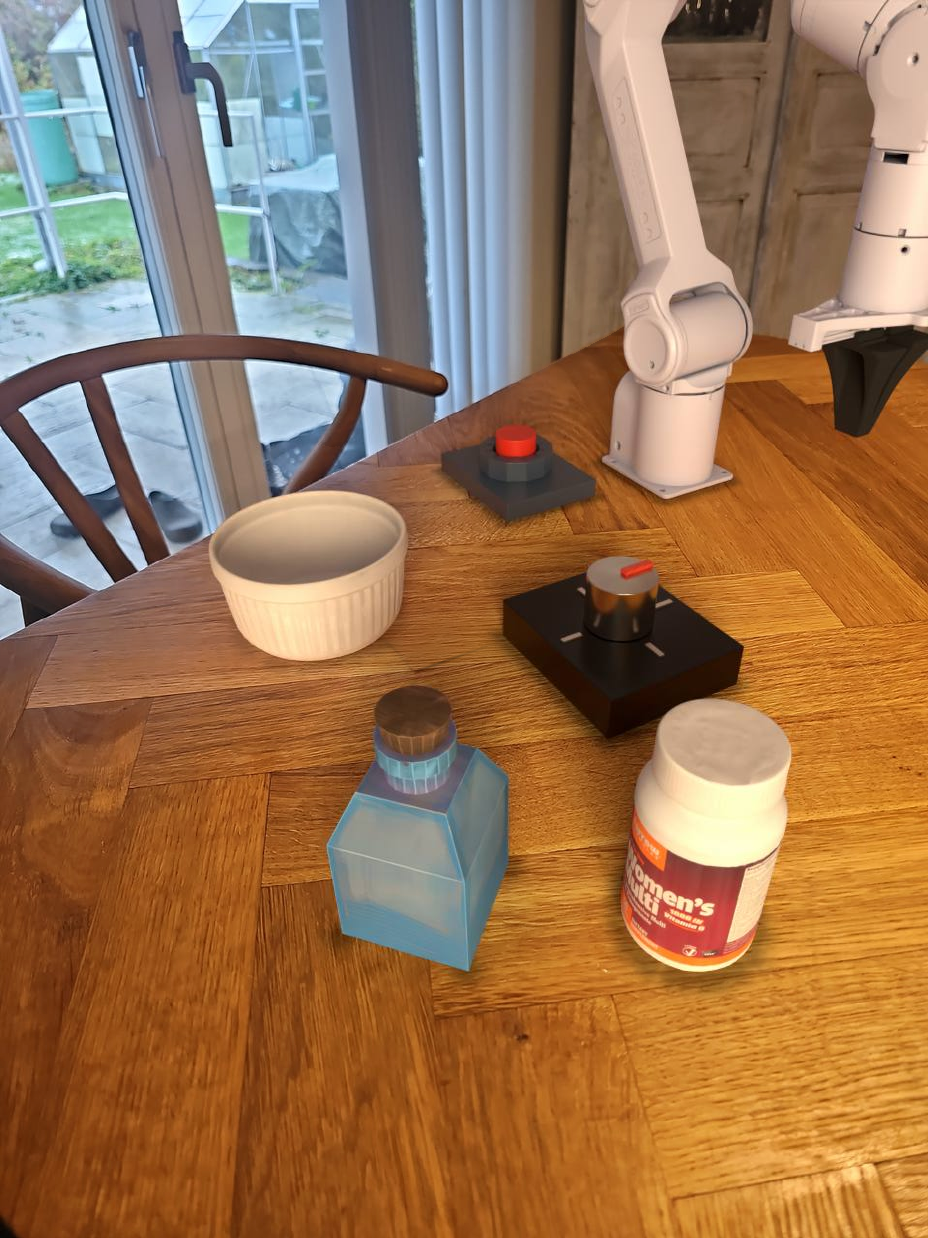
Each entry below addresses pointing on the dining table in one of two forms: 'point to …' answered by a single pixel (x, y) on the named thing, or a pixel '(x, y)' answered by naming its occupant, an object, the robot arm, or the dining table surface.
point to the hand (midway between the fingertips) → (851, 431)
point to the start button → (515, 441)
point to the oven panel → (620, 656)
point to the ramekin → (312, 572)
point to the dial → (620, 598)
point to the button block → (518, 478)
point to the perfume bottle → (421, 835)
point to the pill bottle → (705, 833)
